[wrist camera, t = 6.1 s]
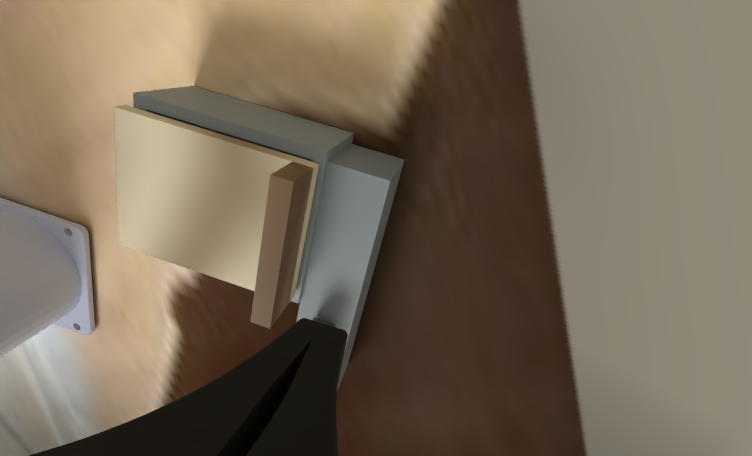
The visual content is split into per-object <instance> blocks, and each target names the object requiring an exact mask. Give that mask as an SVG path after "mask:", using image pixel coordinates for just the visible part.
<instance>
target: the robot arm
mask: <svg viewBox="0 0 752 456" xmlns="http://www.w3.org/2000/svg"><path fill="white" fill-rule="evenodd" d="M53 323H54V324H57V325H59V326H62V327H65V328H67V329H70V330H73V331H75V332H78V333H81V334H84V335H90V334H91V333H93V332H94V331H95V322H94V307H93V292H92V277H91V262H90V247H89V234H88V231H87V229H86V228H85V227H84V226H82V225H80V224H77V223H74V222H71V221H68V220H65V219H62V218H59V217H56V216H53V215H50V214H47V213H44V212H41V211H39V210H36V209H33V208H30V207H27V206H24V205H21V204H18V203H15V202H12V201H9V200H6V199H3V198H0V357H1V356H3V355H4V354H6V353H7V352H9V351H11V350H12V349H14V348H15V347H17V346H18V345H20V344H22V343H23V342H25V341H26V340H28V339H29V338H31V337H33V336H34V335H36V334H37V333H39V332H40V331H42V330H43V329H45V328H47V327H48V326H50V325H51V324H53ZM347 337H348V334H347V332H346V331H345V330H343V329H340V328H336V327H333V326H330V325H326V324H323V323H320V322H316V321H313V320H310V319H307V318H302V319H300V320H298V321H297V322H296V323H295V324H294V325H292V326H291V327H290V328H289V329H287V330H286V331H285V332H283V333H282V334H281V335H280V336H278V337H277V338H276V339H274V340H273V341H272V342H270V343H269V344H268V345H266V346H265V347H263V348H262V349H261V350H259V351H258V352H256V353H255V354H253V355H252V356H251V357H249V358H248V359H246V360H245V361H243V362H242V363H240V364H239V365H237V366H235V367H234V368H232V369H231V370H229V371H227V372H226V373H224V374H223V375H221V376H220V377H218V378H216V379H215V380H213V381H211V382H209V383H208V384H206V385H204V386H202V387H200V388H199V389H197V390H195V391H193V392H191V393H189V394H187V395H185V396H184V397H182V398H180V399H178V400H176V401H173V402H171V403H169V404H167V405H165V406H163V407H161V408H159V409H157V410H154V411H152V412H150V413H148V414H146V415H143V416H141V417H139V418H136V419H134V420H132V421H129V422H126V423H124V424H121V425H119V426H116V427H114V428H111V429H108V430H106V431H103V432H101V433H98V434H95V435H92V436H90V437H87V438H84V439H81V440H78V441H75V442H72V443H69V444H66V445H63V446H59V447H56V448H53V449H50V450H46V451H43V452H40V453H36V454H33V455H30V456H338V446H337V427H336V396H337V385H338V381H339V376H340V371H341V366H342V361H343V356H344V352H345V347H346V342H347Z"/></svg>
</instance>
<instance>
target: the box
mask: <svg viewBox="0 0 752 456" xmlns="http://www.w3.org/2000/svg"><path fill="white" fill-rule="evenodd" d="M133 97H134V108H137V109H140V110H144V111H147V112H150V113H154V114H157V115H160V116H163V117H167V118H170V119H173V120H177V121H180V122H183V123H186V124H190V125H193V126H196V127H200V128H203V129H206V130H210V131H213V132H216V133H219V134H223V135H226V136H229V137H233V138H236V139H239V140H242V141H246V142H249V143H252V144H256V145H259V146H262V147H265V148H269V149H272V150H275V151H279V152H282V153H285V154H288V155H292V156H295V157H298V158H302V159H305V160H308V161H311V162H315V163H318V164H319V168H318V173H317V178H316V184H315V189H314V195H313V200H312V205H311V211H310V216H309V221H308V227H307V232H306V238H305V243H304V248H303V254H302V259H301V264H300V270H299V275H298V281H297V286H296V291H295V296H294V297H293V298H292V300H291V301H293V302H295V303H299V302H300V306H299V311H298V316H297V321H298V320H300V319H302V318H307V319H310V320H313V318H314V317H316V318H319V319H321V320H324V321H327V322H330V323H333V324H335V327H336V328H340V329H343V330H345V331H346V332H347V334H348V337H347V342H346V347H345V352H344V356H343V361H342V366H341V371H340V376H339V381H338V385H337V390H338V388H339V385H340V383H341V380H342V378H343V375H344V373H345V370H346V368H347V366H348V362H349V359H350V355H351V351H352V348H353V344H354V341H355V337H356V333H357V330H358V326H359V322H360V319H361V315H362V312H363V308H364V304H365V301H366V297H367V294H368V290H369V286H370V283H371V279H372V275H373V272H374V268H375V265H376V261H377V257H378V254H379V250H380V247H381V243H382V239H383V236H384V232H385V228H386V225H387V221H388V218H389V214H390V210H391V207H392V203H393V200H394V196H395V192H396V189H397V185H398V182H399V178H400V174H401V171H402V167H403V163H404V160H405V159H401V158H398V157H394V156H391V155H388V154H384V153H381V152H378V151H374V150H371V149H367V148H364V147H361V146H357V145H354V144H352V142H353V137H354V133H352V132H348V131H345V130H342V129H338V128H335V127H331V126H328V125H325V124H321V123H318V122H314V121H311V120H308V119H304V118H301V117H297V116H294V115H290V114H287V113H284V112H280V111H277V110H273V109H270V108H267V107H263V106H260V105H256V104H253V103H250V102H246V101H243V100H239V99H236V98H233V97H229V96H226V95H222V94H219V93H216V92H212V91H209V90H205V89H202V88H199V87H195V86H189V87H180V88H171V89H162V90H153V91H144V92H136V93H133ZM300 300H301V301H300ZM297 321H296V322H297Z"/></svg>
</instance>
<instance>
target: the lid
mask: <svg viewBox="0 0 752 456" xmlns="http://www.w3.org/2000/svg"><path fill="white" fill-rule="evenodd" d="M114 121H115V151H116V182H117V212H118V243H119V245H121V246H124V247H127V248H130V249H133V250H136V251H139V252H142V253H144V254H147V255H150V256H153V257H156V258H159V259H162V260H165V261H168V262H171V263H174V264H177V265H180V266H182V267H185V268H188V269H191V270H194V271H197V272H200V273H203V274H206V275H209V276H212V277H215V278H218V279H220V280H223V281H226V282H229V283H232V284H235V285H238V286H241V287H244V288H247V289H250V290H253V291H255V292H254V299H253V307H252V314H251V322H252V323H255V324H258V325H261V326H264V327H266V328H269V329H270V328H271V327H272V325H273V324H274V323H275V321H276V320H277V319H278V317H279V316H280V315H281V313H282V312H283V311H284V309H285V308H286V306H287V305H288V304H289V302H290V301H291V300H292V298H293V297H294V296H295V291H296V286H297V281H298V275H299V270H300V264H301V259H302V254H303V248H304V243H305V238H306V232H307V227H308V221H309V216H310V211H311V205H312V200H313V195H314V189H315V184H316V178H317V173H318V168H319V164H318V163H315V162H311V161H308V160H305V159H302V158H298V157H295V156H292V155H288V154H285V153H282V152H279V151H275V150H272V149H269V148H265V147H262V146H259V145H256V144H252V143H249V142H246V141H242V140H239V139H236V138H233V137H229V136H226V135H223V134H219V133H216V132H213V131H210V130H206V129H203V128H200V127H196V126H193V125H190V124H186V123H183V122H180V121H177V120H173V119H170V118H167V117H163V116H160V115H157V114H154V113H150V112H147V111H144V110H140V109H137V108H134V107H131V106H127V105H124V106H117V107H114Z"/></svg>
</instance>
